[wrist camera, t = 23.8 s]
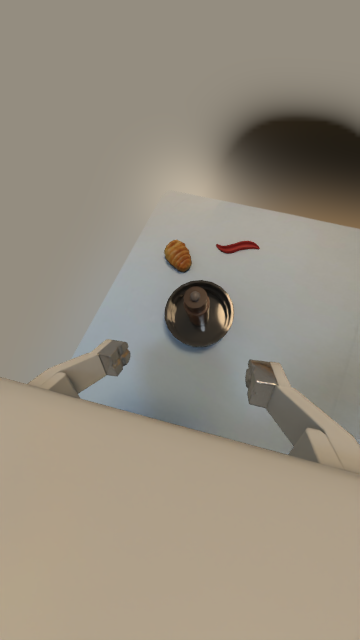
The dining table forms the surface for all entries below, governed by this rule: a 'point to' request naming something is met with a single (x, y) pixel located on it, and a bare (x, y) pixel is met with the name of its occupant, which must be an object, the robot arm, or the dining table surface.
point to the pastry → (178, 255)
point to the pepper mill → (197, 305)
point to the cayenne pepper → (237, 246)
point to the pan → (217, 321)
